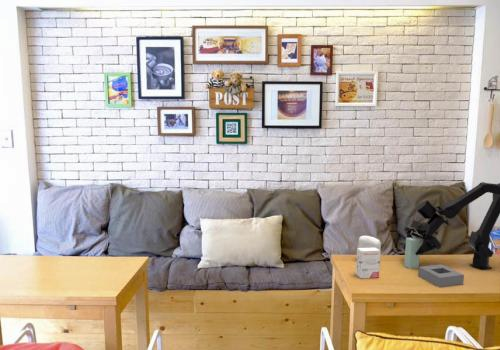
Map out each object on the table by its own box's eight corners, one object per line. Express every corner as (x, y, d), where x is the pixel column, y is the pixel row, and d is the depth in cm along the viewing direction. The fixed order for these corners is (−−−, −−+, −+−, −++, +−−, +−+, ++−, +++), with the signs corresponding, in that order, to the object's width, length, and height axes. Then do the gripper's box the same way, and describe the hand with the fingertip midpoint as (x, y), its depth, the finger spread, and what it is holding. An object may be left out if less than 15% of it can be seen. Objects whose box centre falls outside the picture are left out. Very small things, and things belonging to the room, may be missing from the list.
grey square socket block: (441, 273, 176) (441, 264, 176) (463, 284, 165) (464, 274, 164) (418, 275, 173) (418, 266, 172) (439, 287, 161) (439, 277, 161)
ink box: (374, 273, 175) (376, 246, 173) (379, 277, 170) (381, 250, 168) (355, 274, 173) (356, 247, 172) (359, 278, 169) (361, 251, 167)
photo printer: (380, 264, 186) (382, 238, 184) (376, 266, 183) (378, 240, 181) (360, 258, 193) (362, 233, 191) (355, 260, 190) (357, 235, 188)
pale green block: (413, 264, 186) (415, 237, 184) (418, 267, 183) (420, 239, 181) (404, 265, 184) (406, 238, 183) (409, 268, 181) (411, 240, 179)
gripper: (408, 209, 190) (386, 234, 188) (438, 219, 173) (414, 246, 171) (421, 225, 194) (400, 249, 192) (451, 236, 176) (428, 263, 174)
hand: (409, 251), depth 182 cm, fingers open, 8 cm apart
